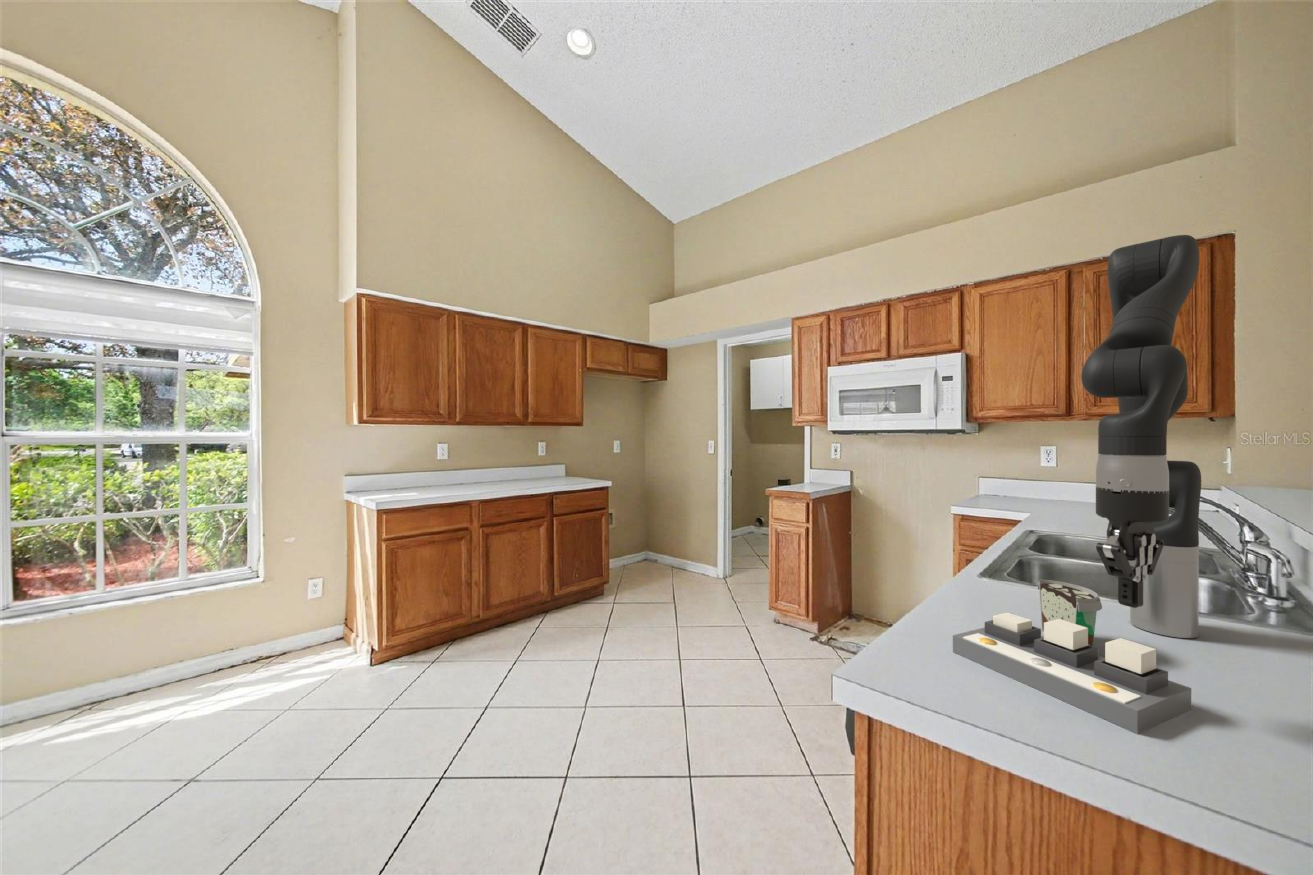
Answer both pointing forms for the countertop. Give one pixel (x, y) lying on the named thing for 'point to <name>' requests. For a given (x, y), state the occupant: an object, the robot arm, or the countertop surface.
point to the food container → (1069, 604)
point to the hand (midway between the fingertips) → (1130, 605)
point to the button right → (1130, 655)
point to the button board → (1077, 676)
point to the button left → (1012, 622)
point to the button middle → (1066, 634)
